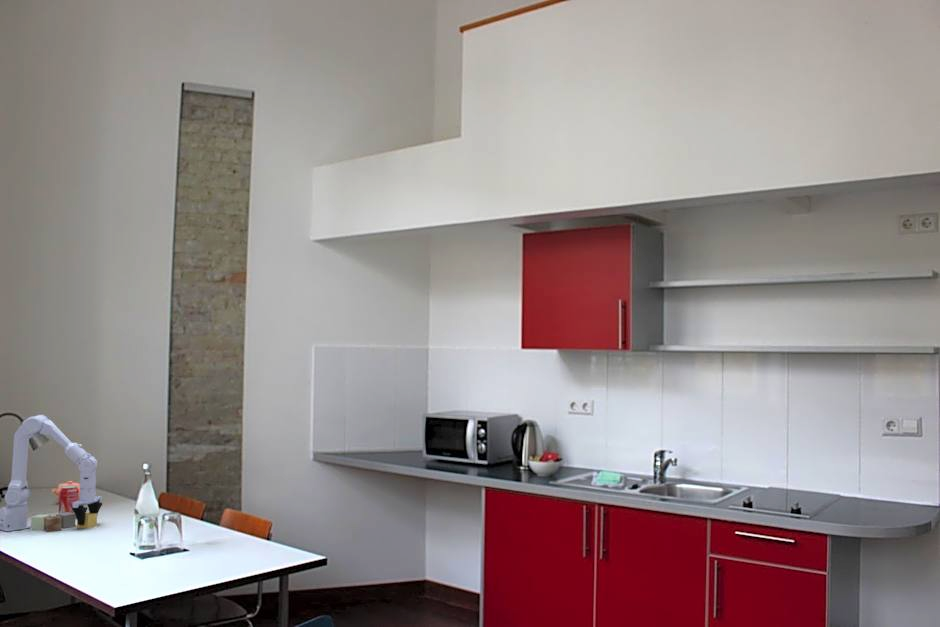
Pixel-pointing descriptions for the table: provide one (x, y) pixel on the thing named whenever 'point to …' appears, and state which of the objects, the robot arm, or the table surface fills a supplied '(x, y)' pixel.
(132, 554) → the table surface
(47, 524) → the walnut block
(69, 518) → the slate block
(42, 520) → the pale green block
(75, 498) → the soda can
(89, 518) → the ochre block
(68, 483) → the teapot
